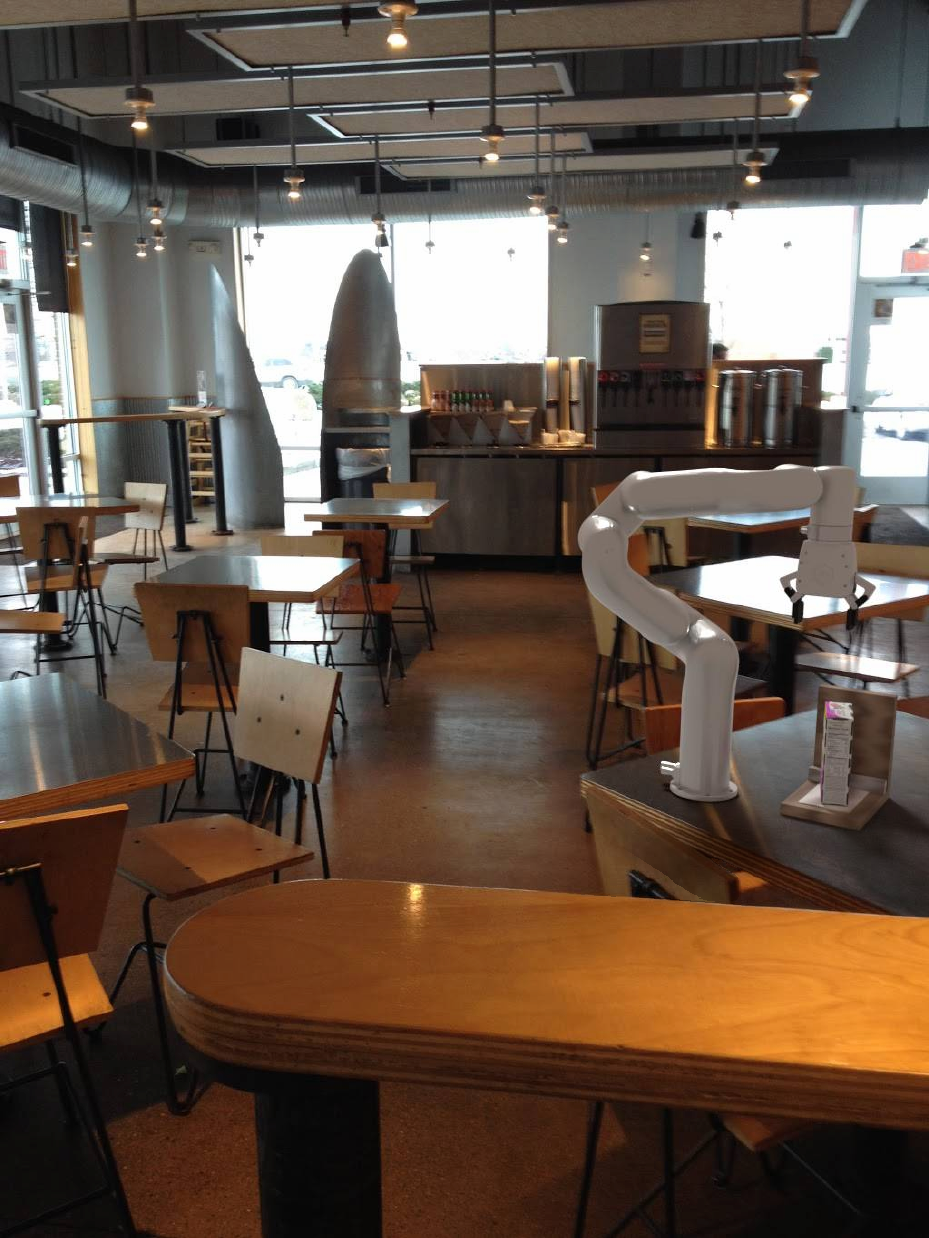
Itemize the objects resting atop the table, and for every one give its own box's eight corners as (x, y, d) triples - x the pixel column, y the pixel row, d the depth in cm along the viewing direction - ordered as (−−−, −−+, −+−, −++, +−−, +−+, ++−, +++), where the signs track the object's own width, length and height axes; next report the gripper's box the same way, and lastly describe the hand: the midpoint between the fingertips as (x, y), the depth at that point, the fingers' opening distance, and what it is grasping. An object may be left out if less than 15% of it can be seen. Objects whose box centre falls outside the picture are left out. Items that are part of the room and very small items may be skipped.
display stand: (780, 813, 200) (787, 706, 196) (815, 783, 216) (822, 683, 212) (859, 830, 192) (867, 719, 188) (889, 797, 208) (897, 695, 204)
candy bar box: (818, 784, 209) (824, 700, 206) (846, 787, 208) (852, 702, 204) (819, 804, 199) (825, 716, 195) (848, 807, 197) (855, 718, 194)
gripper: (776, 532, 204) (771, 623, 207) (873, 539, 194) (865, 635, 197) (790, 529, 210) (784, 617, 213) (884, 535, 200) (877, 628, 203)
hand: (823, 626), depth 205 cm, fingers open, 9 cm apart
